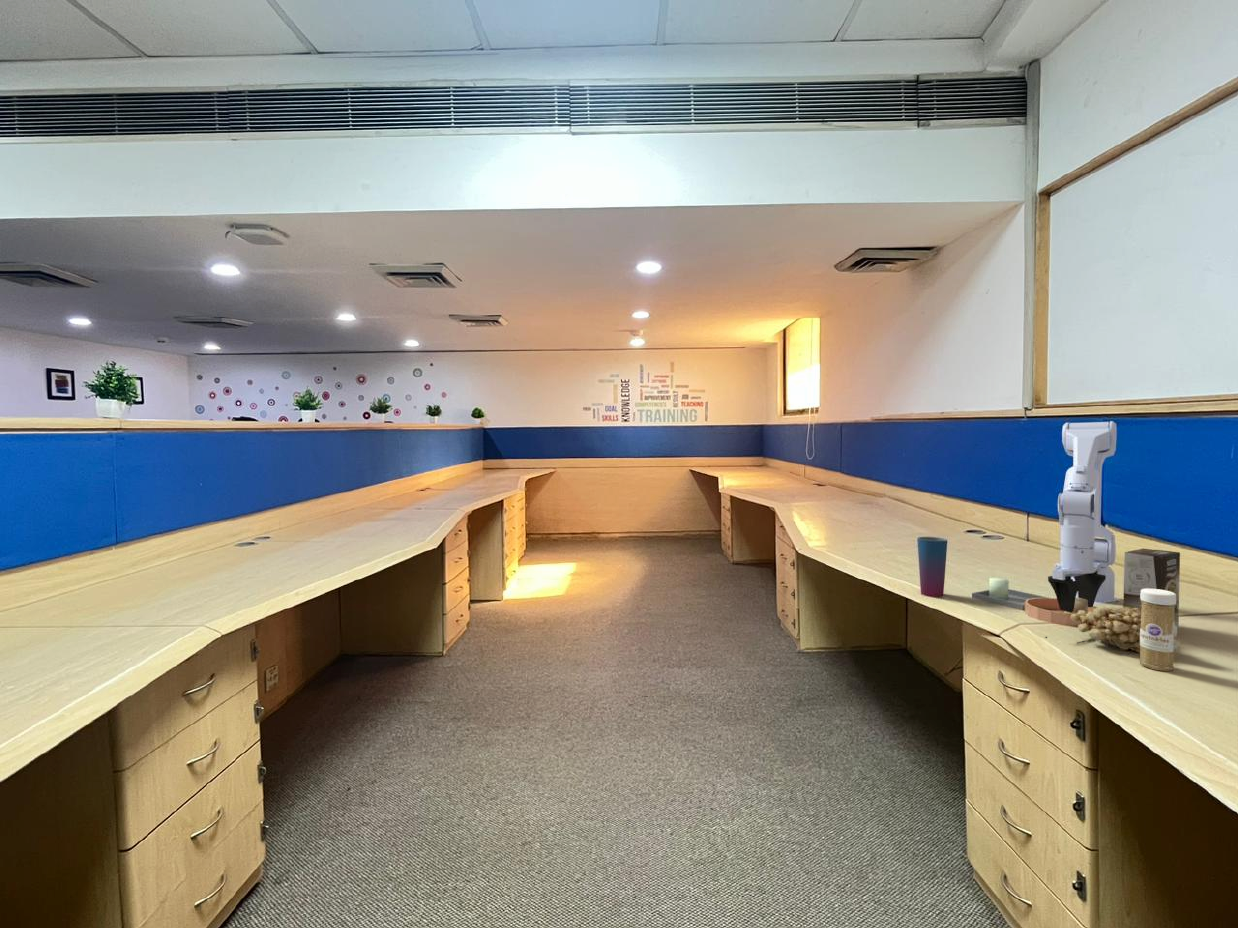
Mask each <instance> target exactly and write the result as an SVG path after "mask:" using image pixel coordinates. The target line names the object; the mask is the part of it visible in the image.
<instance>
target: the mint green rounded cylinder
mask: <svg viewBox="0 0 1238 928" xmlns="http://www.w3.org/2000/svg"><path fill="white" fill-rule="evenodd" d="M988 579H989V580H988V581H989V583H988V585H989V587H988V590H989V597H993V598H997V599H1002V600H1007V599H1008V589H1010V588H1009V586H1010V585H1009V580H1008V579H1006V578H1001V577H990V578H988Z"/></svg>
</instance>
